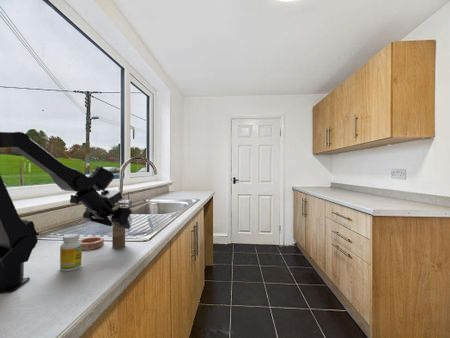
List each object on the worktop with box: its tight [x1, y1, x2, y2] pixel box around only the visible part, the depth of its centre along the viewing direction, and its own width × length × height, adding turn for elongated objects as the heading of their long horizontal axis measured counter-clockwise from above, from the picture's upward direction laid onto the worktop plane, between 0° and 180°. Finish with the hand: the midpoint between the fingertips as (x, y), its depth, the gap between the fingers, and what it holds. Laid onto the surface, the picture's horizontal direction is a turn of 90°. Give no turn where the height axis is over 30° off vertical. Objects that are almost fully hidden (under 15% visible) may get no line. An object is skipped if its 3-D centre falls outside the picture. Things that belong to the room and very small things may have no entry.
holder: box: [78, 236, 105, 251], centre depth 90 cm, size 9×9×2 cm
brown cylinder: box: [111, 223, 126, 250], centre depth 90 cm, size 4×4×12 cm
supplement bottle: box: [59, 233, 83, 272], centre depth 70 cm, size 5×5×10 cm
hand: (120, 226), depth 90 cm, fingers open, 9 cm apart
